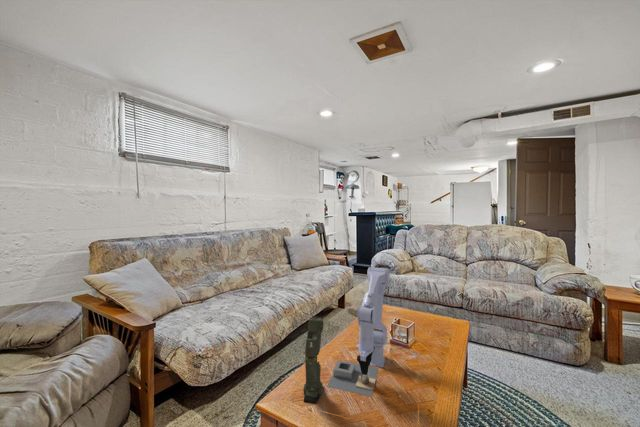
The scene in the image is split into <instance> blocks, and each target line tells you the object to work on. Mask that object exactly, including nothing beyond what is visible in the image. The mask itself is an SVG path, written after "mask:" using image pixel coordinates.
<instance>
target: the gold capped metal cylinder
mask: <svg viewBox="0 0 640 427" xmlns="http://www.w3.org/2000/svg"><path fill="white" fill-rule="evenodd" d="M361 383H362V384H365V385H366V384H369V368H368V373H367V375H364V374H362V373H361Z"/></svg>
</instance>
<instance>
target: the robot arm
mask: <svg viewBox="0 0 640 427" xmlns="http://www.w3.org/2000/svg"><path fill="white" fill-rule="evenodd" d="M367 268H368V269H367V273H366V274H367V275H366V278H367V280H368V283H369V285H368V291H367V292H365V294H364V296H363V300H362V304H361V306H359V307H358V310H357V325H358V327H359V334H358V337H359V338H358V342H359V343H358V344H356V347H355V348H356V349H358V351H359V354H357V357H356V360H357V362H358V364H360V368H361V373H362V374H364V375H367V373H368V368H369V366H372V367H377V368H384V365H385V361H386V356H385V355H384V346H385V345H386V344H387V343H388V341H387V340H388V328H387V326H386V325H385V324H384V323H383V321H382V320H383V309H384V308H383V307H384V306H383V305H384V293H385V288H386V287H388V286H389V283H390V276H391V275H390V273H391V272H390V269H389V268H385V267H372V266H369V267H367Z"/></svg>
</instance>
